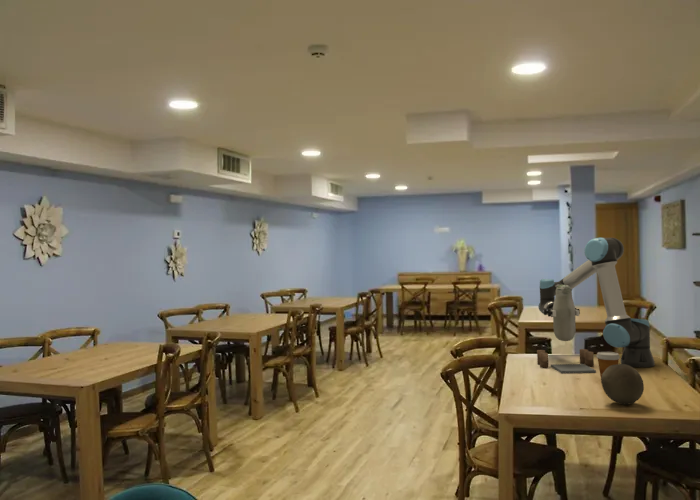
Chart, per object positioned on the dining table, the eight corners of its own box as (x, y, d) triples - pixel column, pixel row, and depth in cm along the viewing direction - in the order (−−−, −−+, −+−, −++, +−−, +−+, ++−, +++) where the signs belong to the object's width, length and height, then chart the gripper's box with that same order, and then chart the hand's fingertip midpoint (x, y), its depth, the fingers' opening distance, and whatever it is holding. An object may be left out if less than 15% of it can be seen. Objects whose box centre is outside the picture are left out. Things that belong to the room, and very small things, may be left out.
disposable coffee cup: (623, 383, 248) (622, 355, 248) (599, 382, 250) (598, 355, 250) (617, 378, 257) (616, 351, 257) (594, 378, 259) (594, 351, 259)
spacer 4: (595, 366, 285) (594, 351, 285) (591, 367, 283) (590, 353, 283) (587, 365, 288) (587, 351, 288) (583, 366, 286) (583, 352, 286)
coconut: (608, 398, 224) (607, 359, 224) (648, 403, 215) (646, 363, 215) (597, 406, 213) (596, 365, 213) (638, 411, 204) (637, 369, 204)
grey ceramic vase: (549, 340, 288) (548, 284, 288) (565, 338, 292) (563, 283, 292) (564, 343, 279) (562, 285, 279) (580, 341, 283) (578, 284, 283)
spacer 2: (550, 367, 285) (549, 353, 285) (545, 368, 283) (545, 354, 283) (542, 366, 288) (542, 352, 288) (538, 367, 286) (538, 353, 286)
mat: (583, 366, 286) (583, 363, 286) (595, 372, 270) (595, 370, 270) (550, 366, 286) (550, 364, 286) (561, 373, 270) (561, 371, 270)
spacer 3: (589, 363, 292) (589, 349, 292) (585, 364, 290) (585, 350, 290) (582, 362, 295) (581, 348, 295) (578, 363, 293) (578, 349, 293)
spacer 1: (547, 364, 293) (546, 350, 293) (543, 365, 290) (542, 351, 290) (540, 363, 296) (539, 349, 296) (535, 364, 293) (535, 350, 294)
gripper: (575, 316, 303) (590, 320, 281) (531, 317, 304) (543, 321, 282) (574, 301, 303) (590, 305, 281) (530, 302, 304) (542, 306, 282)
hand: (566, 313), depth 281 cm, fingers closed on grey ceramic vase, 10 cm apart
